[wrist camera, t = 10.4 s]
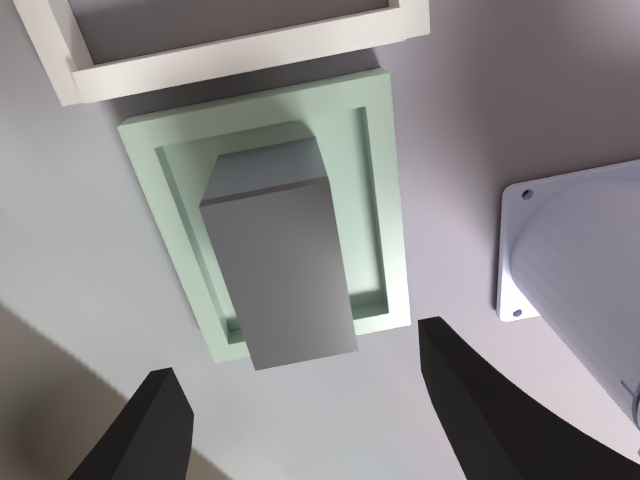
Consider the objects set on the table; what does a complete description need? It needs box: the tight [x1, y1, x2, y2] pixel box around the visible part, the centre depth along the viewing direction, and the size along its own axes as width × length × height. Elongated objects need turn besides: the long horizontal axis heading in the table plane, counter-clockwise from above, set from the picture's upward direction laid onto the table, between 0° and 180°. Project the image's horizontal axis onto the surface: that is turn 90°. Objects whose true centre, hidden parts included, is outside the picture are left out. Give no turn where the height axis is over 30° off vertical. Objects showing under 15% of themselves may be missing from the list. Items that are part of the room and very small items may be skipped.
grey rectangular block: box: [199, 136, 358, 371], centre depth 16 cm, size 4×7×5 cm, turn 9°
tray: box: [117, 67, 411, 363], centre depth 19 cm, size 10×12×2 cm
